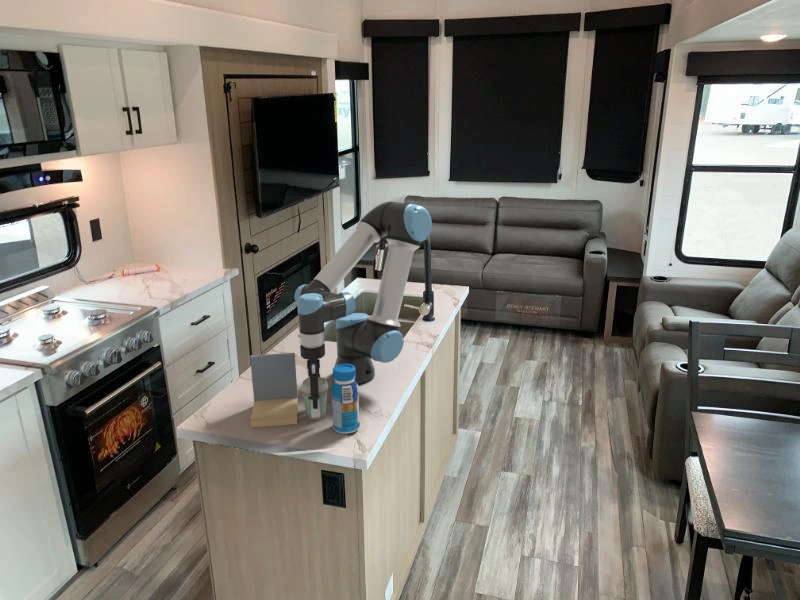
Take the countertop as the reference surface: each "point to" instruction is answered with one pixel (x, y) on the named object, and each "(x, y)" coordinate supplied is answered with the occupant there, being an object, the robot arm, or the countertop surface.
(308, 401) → the coffee cup
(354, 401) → the beverage bottle
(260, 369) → the grey board on stand
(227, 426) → the countertop surface
